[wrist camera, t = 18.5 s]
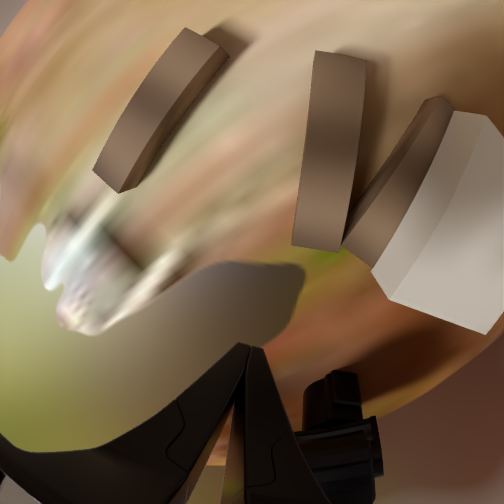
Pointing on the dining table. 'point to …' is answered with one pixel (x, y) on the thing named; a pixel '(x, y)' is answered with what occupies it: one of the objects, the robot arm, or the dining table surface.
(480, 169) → the slab
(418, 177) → the bar
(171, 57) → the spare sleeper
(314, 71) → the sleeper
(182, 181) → the dining table surface
